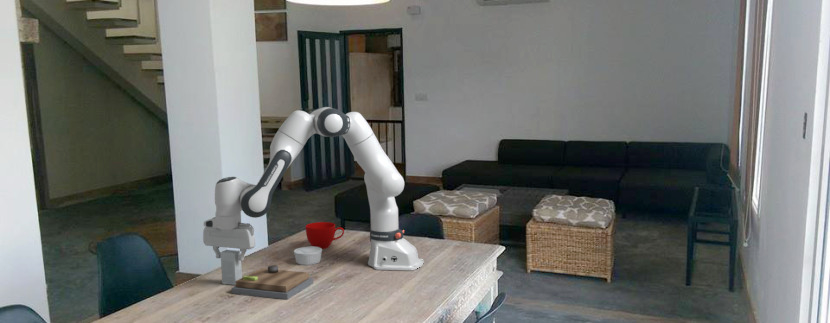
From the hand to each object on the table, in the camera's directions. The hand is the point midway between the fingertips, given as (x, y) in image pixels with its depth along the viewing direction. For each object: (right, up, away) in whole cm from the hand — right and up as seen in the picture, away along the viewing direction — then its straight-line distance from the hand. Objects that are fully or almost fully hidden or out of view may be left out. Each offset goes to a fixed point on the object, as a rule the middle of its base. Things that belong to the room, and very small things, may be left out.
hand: (230, 259), depth 228 cm
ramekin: (+24, -6, +27) cm, 36 cm away
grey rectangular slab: (+17, -10, -6) cm, 20 cm away
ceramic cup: (+28, -3, +50) cm, 57 cm away
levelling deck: (+17, -7, -6) cm, 19 cm away
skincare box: (0, -9, +1) cm, 9 cm away
